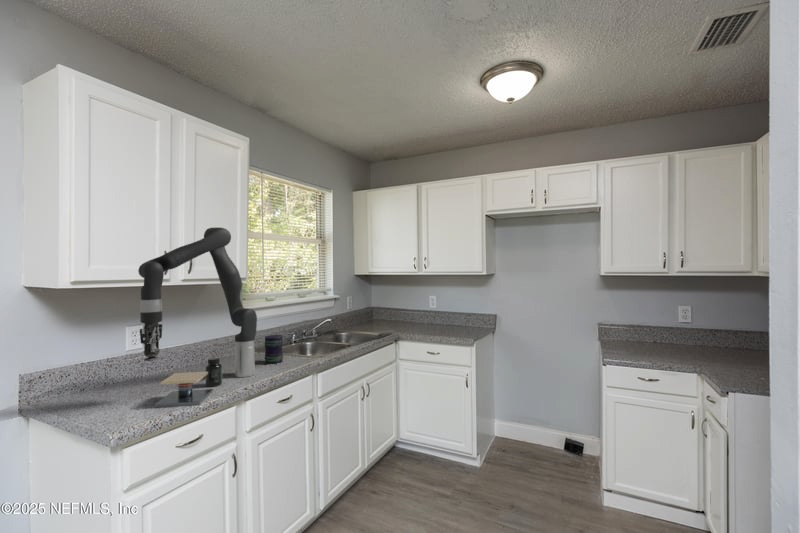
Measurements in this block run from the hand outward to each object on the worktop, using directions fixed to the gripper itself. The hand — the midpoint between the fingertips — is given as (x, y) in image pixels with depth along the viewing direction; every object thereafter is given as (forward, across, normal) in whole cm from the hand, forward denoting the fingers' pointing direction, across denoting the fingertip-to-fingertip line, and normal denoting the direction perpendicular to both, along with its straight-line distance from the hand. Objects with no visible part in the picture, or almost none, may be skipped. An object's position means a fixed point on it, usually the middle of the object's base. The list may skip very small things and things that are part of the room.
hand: (151, 351), depth 155 cm
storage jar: (+20, +55, -39) cm, 70 cm away
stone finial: (+3, 0, 0) cm, 3 cm away
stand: (+19, -3, -14) cm, 24 cm away
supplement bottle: (+20, +16, -19) cm, 32 cm away
